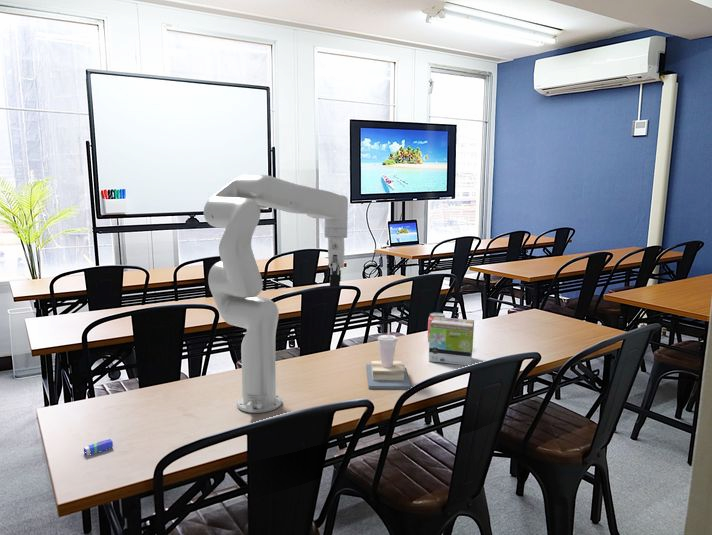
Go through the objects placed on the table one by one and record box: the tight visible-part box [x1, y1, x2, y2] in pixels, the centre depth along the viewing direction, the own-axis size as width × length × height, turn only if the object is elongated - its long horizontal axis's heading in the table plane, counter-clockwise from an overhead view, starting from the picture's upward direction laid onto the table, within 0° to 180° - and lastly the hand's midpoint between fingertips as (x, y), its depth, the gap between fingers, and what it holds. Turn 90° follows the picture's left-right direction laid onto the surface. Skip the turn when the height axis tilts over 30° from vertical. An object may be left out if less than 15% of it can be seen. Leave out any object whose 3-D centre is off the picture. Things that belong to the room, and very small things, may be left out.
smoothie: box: [377, 323, 398, 368], centre depth 176 cm, size 6×6×14 cm
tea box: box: [428, 317, 475, 367], centre depth 195 cm, size 15×10×15 cm
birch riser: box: [370, 360, 404, 380], centre depth 178 cm, size 10×10×3 cm
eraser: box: [83, 438, 114, 457], centre depth 128 cm, size 2×6×2 cm, turn 133°
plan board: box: [365, 363, 411, 390], centre depth 178 cm, size 20×13×1 cm, turn 1°
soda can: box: [427, 312, 446, 343], centre depth 215 cm, size 7×7×12 cm
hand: (335, 284), depth 180 cm, fingers open, 9 cm apart
